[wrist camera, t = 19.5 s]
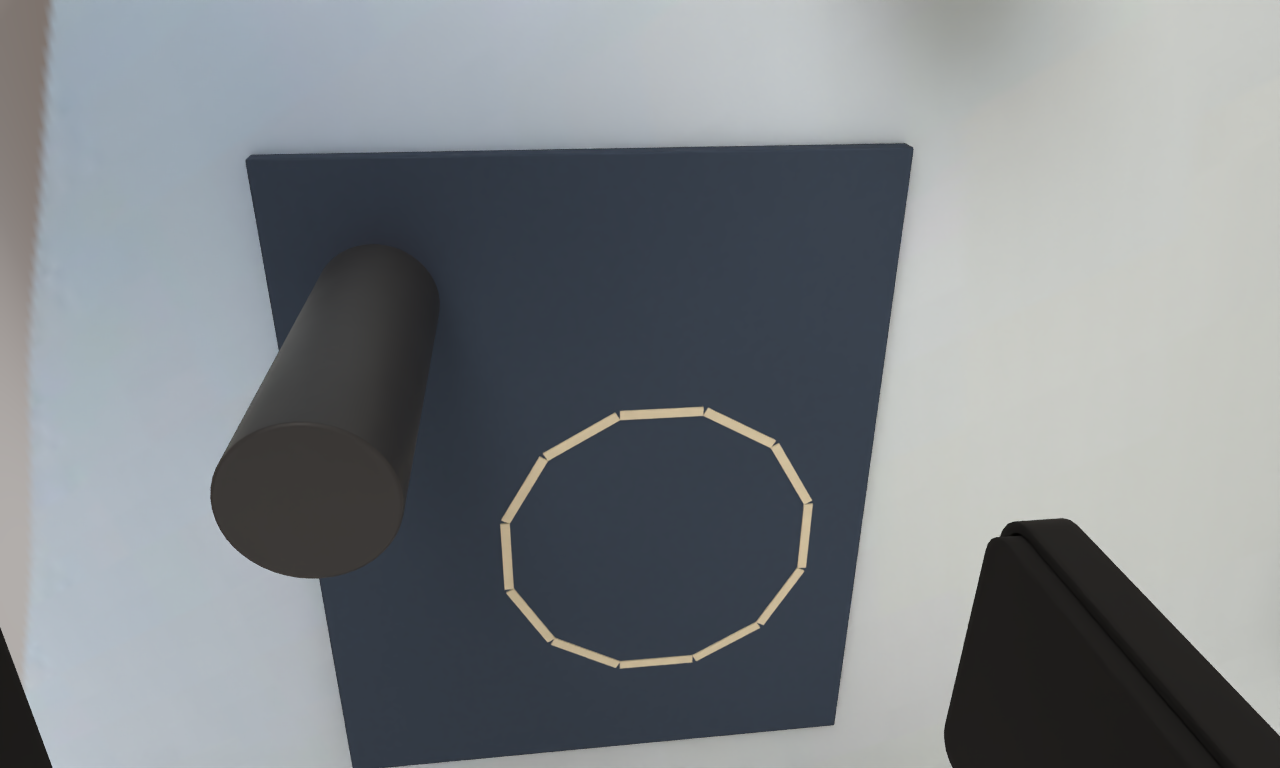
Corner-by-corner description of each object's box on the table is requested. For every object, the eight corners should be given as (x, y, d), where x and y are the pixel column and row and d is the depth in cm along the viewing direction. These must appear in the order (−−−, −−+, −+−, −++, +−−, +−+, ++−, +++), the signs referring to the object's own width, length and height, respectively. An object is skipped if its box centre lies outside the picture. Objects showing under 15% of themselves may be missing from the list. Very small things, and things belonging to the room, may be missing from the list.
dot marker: (316, 231, 25) (191, 428, 15) (437, 228, 25) (393, 418, 15) (332, 341, 26) (227, 586, 16) (447, 336, 27) (411, 573, 17)
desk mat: (250, 154, 24) (243, 160, 24) (906, 142, 26) (915, 147, 26) (355, 758, 34) (352, 772, 33) (829, 713, 36) (835, 726, 36)
